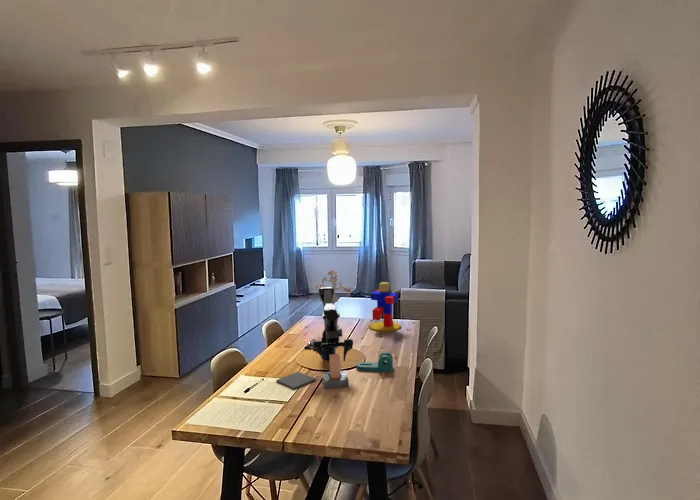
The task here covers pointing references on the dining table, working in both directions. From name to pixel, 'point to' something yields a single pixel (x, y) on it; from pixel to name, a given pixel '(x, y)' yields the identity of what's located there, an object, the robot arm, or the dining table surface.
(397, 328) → the figurine
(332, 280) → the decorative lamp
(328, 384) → the socket block
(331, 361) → the peg
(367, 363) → the bracket
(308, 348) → the micrometer
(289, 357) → the dining table surface
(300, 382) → the mat
